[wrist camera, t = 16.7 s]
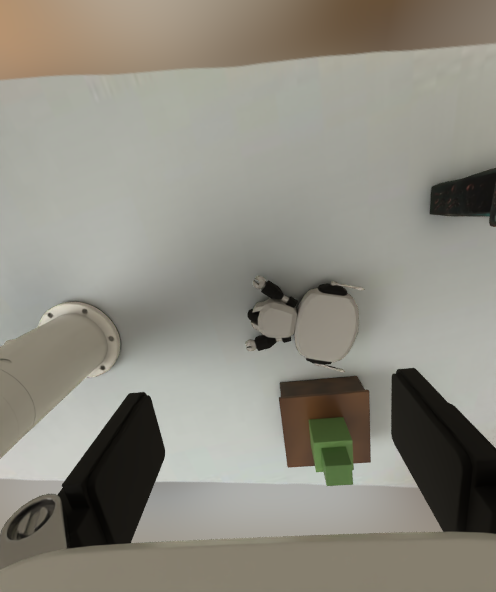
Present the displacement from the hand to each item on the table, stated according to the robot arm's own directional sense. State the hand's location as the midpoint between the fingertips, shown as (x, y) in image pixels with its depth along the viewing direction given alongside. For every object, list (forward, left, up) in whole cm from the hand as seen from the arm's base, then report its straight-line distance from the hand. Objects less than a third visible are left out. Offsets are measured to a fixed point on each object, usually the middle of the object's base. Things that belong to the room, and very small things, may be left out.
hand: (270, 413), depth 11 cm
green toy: (+6, -25, -26) cm, 37 cm away
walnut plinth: (+6, -25, -30) cm, 40 cm away
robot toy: (+4, -8, -31) cm, 32 cm away
